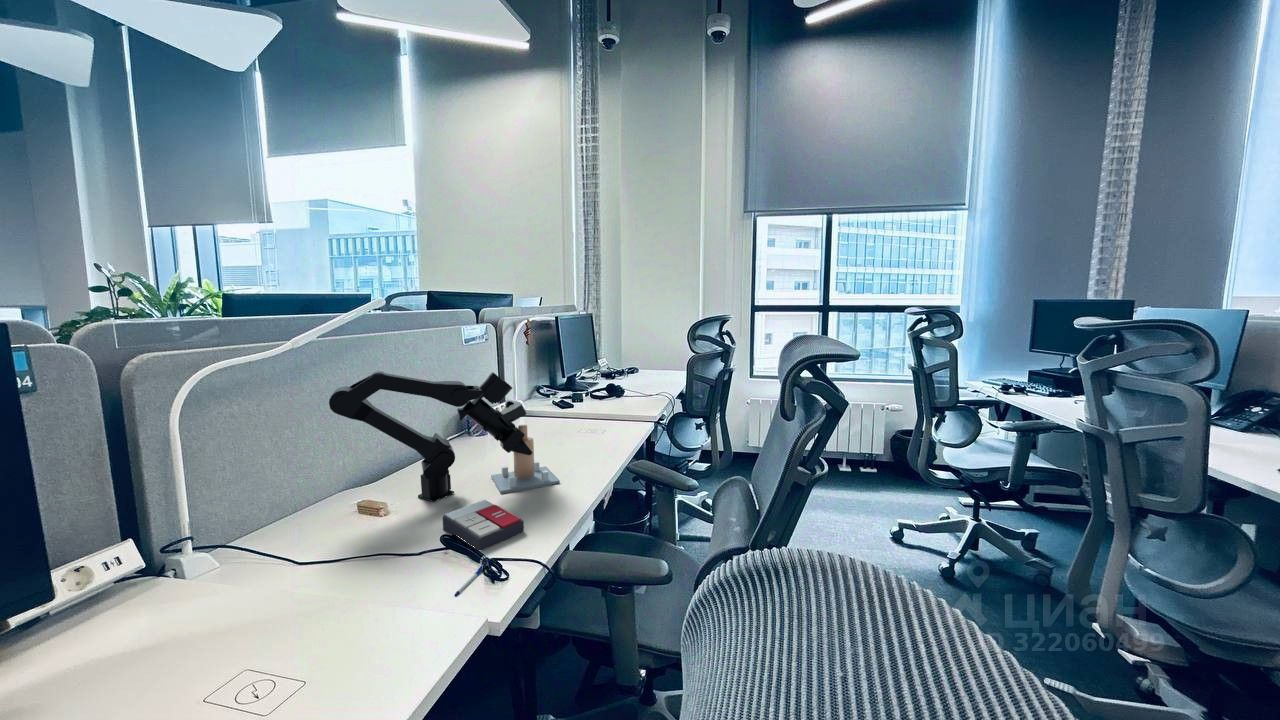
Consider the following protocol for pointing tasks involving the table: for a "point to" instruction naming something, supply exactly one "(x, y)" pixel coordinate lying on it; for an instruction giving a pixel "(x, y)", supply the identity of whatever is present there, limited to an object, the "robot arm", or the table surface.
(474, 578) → the ballpoint pen
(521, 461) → the tan bottle
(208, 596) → the table surface
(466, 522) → the calculator
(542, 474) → the plate
